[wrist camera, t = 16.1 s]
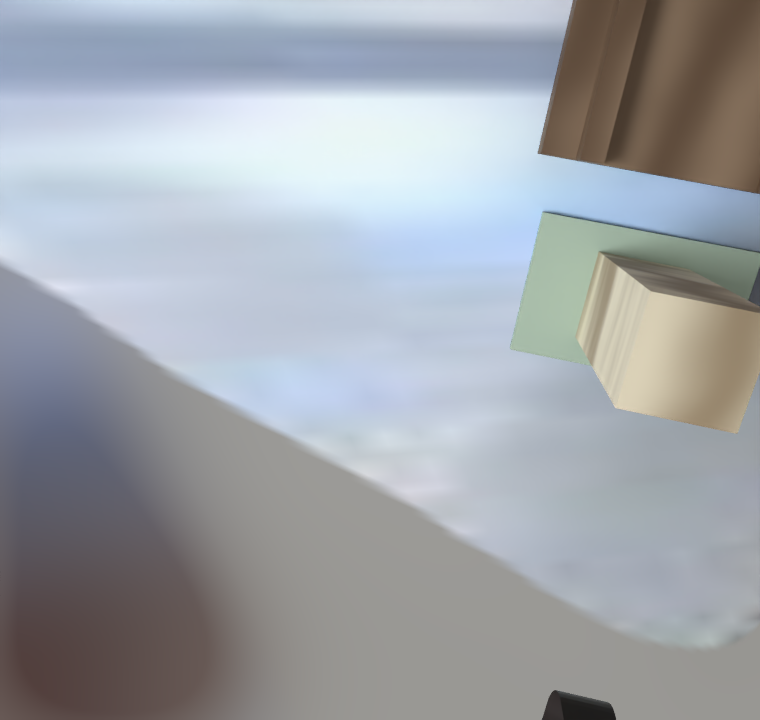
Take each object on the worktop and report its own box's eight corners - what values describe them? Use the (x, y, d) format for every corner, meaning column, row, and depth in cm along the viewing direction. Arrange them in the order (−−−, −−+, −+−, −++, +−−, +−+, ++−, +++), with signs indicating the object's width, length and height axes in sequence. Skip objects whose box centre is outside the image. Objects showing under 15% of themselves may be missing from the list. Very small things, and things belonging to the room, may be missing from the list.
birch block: (575, 336, 41) (615, 408, 29) (598, 251, 39) (650, 291, 28) (662, 354, 41) (737, 433, 29) (689, 269, 39) (779, 317, 28)
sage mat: (510, 347, 42) (510, 349, 42) (542, 211, 40) (543, 212, 39) (714, 388, 41) (717, 391, 41) (760, 252, 39) (763, 253, 38)
